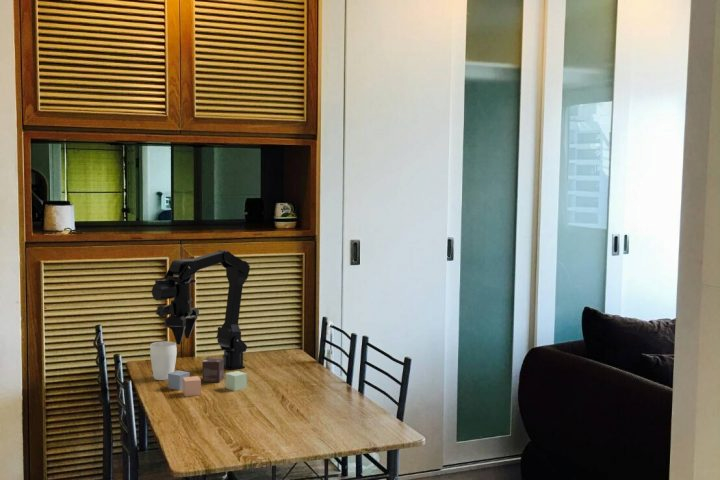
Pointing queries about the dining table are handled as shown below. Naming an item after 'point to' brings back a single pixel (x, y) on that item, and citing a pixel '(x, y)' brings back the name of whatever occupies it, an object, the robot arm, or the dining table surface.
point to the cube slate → (177, 379)
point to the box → (213, 369)
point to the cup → (163, 358)
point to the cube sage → (236, 380)
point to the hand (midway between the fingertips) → (182, 341)
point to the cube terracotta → (191, 386)
